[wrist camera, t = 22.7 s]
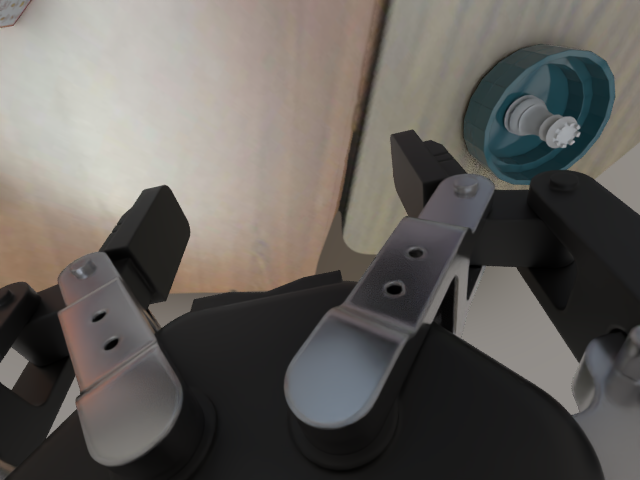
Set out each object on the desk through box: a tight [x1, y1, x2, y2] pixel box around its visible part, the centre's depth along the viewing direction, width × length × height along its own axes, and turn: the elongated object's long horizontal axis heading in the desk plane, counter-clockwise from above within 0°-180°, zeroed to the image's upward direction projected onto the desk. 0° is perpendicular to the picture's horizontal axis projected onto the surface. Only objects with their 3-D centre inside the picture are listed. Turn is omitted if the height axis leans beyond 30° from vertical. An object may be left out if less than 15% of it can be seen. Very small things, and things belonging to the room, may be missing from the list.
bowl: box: [464, 44, 615, 185], centre depth 40 cm, size 14×14×6 cm
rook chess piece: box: [504, 95, 581, 148], centre depth 39 cm, size 4×4×8 cm
